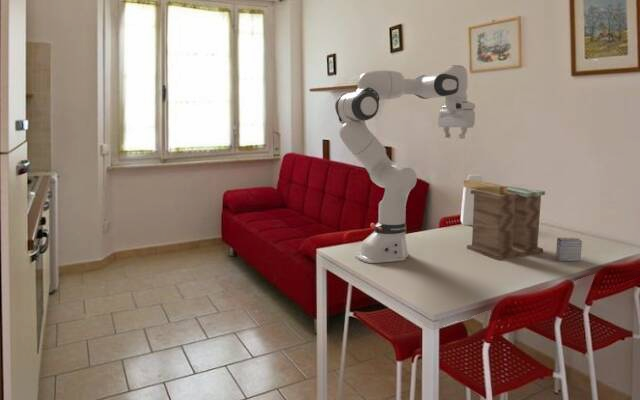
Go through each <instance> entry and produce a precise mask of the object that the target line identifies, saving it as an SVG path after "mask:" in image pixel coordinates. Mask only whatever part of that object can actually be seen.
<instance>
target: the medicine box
mask: <svg viewBox="0 0 640 400" xmlns="http://www.w3.org/2000/svg"><path fill="white" fill-rule="evenodd" d="M556 238H557V239H556V249H555V251H556V253H555V258H556V259H557V260H558V262H559V261H560V262H581V258H582V256H581V255H582V249H583V248H582V246H583V240H582V239H580V238H578V237H556Z"/></svg>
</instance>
